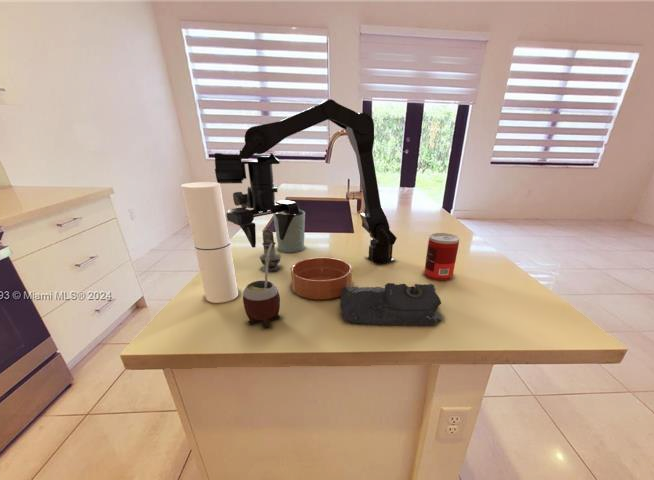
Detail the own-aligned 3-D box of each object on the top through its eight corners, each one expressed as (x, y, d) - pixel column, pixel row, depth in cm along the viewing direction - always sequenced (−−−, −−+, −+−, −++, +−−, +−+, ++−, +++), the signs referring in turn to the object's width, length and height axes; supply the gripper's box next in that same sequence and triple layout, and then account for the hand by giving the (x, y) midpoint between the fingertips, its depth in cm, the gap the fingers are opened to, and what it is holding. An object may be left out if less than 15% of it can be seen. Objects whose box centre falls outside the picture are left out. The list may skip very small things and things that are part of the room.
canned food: (457, 275, 88) (464, 237, 83) (443, 283, 83) (450, 243, 78) (433, 267, 92) (438, 231, 87) (418, 275, 87) (423, 236, 82)
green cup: (291, 241, 111) (289, 207, 105) (313, 247, 106) (311, 211, 100) (269, 249, 104) (265, 212, 98) (291, 255, 98) (288, 217, 93)
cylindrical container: (207, 305, 70) (181, 188, 58) (204, 292, 75) (180, 182, 64) (240, 299, 73) (222, 186, 61) (235, 286, 78) (217, 181, 67)
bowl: (335, 270, 89) (335, 254, 86) (362, 292, 77) (363, 273, 75) (283, 280, 82) (282, 263, 80) (305, 306, 71) (304, 286, 68)
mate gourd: (249, 333, 61) (237, 260, 54) (244, 313, 67) (233, 246, 60) (287, 325, 63) (281, 255, 56) (279, 307, 70) (272, 242, 63)
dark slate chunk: (340, 291, 77) (340, 273, 75) (428, 292, 78) (431, 275, 76) (339, 325, 64) (339, 304, 62) (446, 326, 64) (450, 306, 62)
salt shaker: (268, 274, 85) (263, 231, 80) (256, 268, 89) (251, 226, 83) (286, 268, 89) (282, 227, 84) (274, 263, 93) (270, 222, 87)
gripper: (272, 176, 89) (277, 230, 96) (210, 183, 77) (220, 244, 84) (298, 181, 83) (301, 238, 90) (234, 188, 70) (244, 254, 77)
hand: (268, 243), depth 86 cm, fingers open, 9 cm apart
